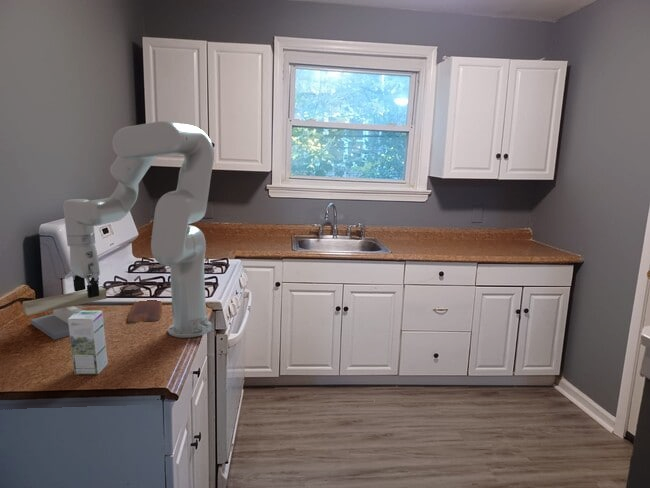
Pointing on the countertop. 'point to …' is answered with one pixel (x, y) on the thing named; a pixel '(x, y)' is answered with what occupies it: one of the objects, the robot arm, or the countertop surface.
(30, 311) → the birch beam
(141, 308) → the wooden tablet
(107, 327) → the countertop surface
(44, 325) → the stand
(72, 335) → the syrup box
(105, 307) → the countertop surface
